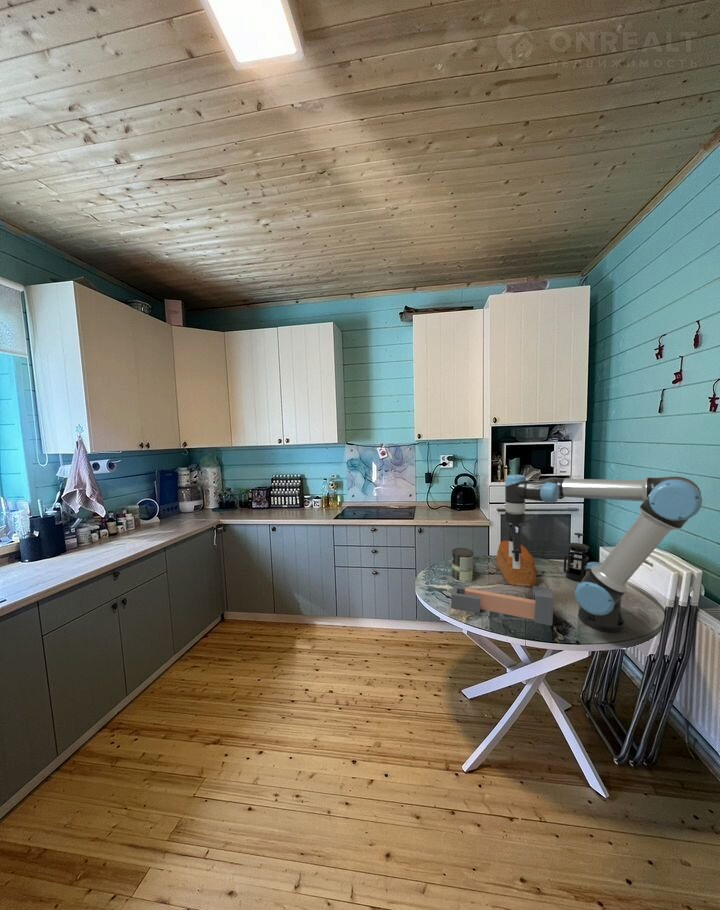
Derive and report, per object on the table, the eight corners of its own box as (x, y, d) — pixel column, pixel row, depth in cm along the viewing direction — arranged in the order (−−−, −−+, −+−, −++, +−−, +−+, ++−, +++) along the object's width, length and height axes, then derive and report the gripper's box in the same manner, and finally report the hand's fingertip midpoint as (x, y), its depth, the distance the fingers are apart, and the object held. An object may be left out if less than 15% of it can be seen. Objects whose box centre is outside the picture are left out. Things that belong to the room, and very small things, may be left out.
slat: (536, 617, 142) (537, 600, 141) (537, 620, 139) (538, 604, 139) (465, 603, 153) (465, 587, 152) (464, 606, 150) (464, 590, 150)
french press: (581, 574, 182) (583, 530, 180) (593, 582, 173) (596, 536, 171) (558, 574, 182) (560, 530, 180) (569, 582, 173) (572, 536, 171)
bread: (521, 565, 194) (522, 538, 192) (537, 587, 167) (539, 557, 166) (494, 563, 196) (495, 537, 195) (507, 585, 170) (508, 555, 168)
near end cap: (548, 613, 144) (549, 588, 143) (552, 625, 136) (553, 598, 135) (532, 611, 146) (533, 585, 145) (534, 622, 138) (536, 595, 137)
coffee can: (448, 580, 175) (449, 552, 174) (454, 572, 184) (455, 546, 183) (469, 584, 170) (470, 556, 169) (474, 577, 179) (475, 550, 178)
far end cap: (480, 602, 153) (480, 589, 152) (479, 613, 144) (480, 599, 144) (452, 598, 157) (453, 585, 156) (450, 608, 148) (451, 594, 148)
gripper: (502, 505, 158) (501, 551, 160) (508, 519, 135) (507, 572, 136) (520, 506, 156) (519, 552, 158) (529, 520, 132) (529, 574, 134)
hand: (514, 562), depth 147 cm, fingers open, 13 cm apart
